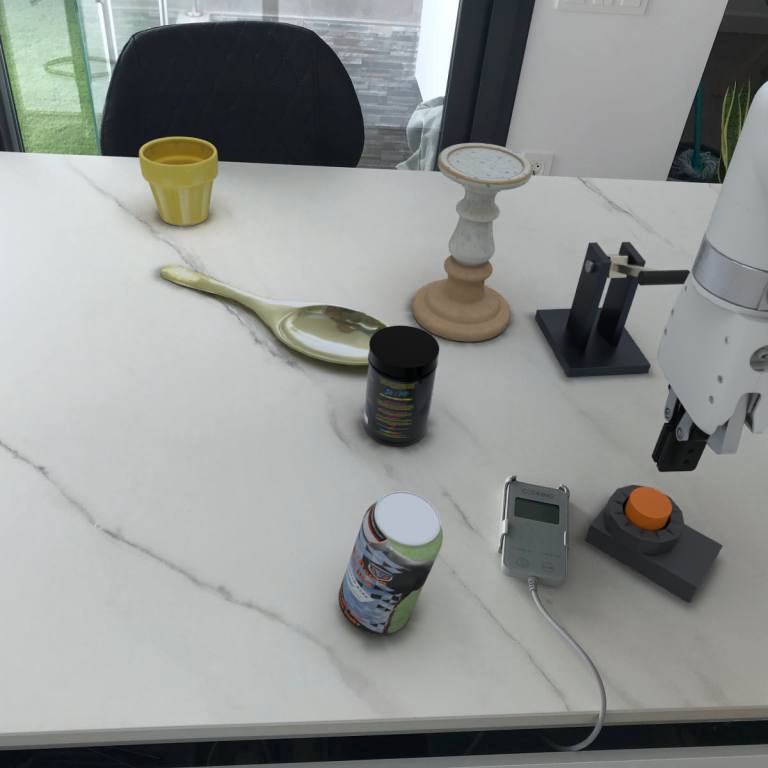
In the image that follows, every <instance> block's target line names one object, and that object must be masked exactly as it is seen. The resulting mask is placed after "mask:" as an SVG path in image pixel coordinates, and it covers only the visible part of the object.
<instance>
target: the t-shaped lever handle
mask: <svg viewBox="0 0 768 768" xmlns="http://www.w3.org/2000/svg"><path fill="white" fill-rule="evenodd" d="M605 254H606V255H607V257H608V258H609V259H610V261H611V262H612V264H611V267H610V270H609V274H608V277H607V279H611V278H626V277H627V275H630V276H634V277H638V278H637V279H638V283H639V284H638V286H641V287H642V286H673V285H675V286H677V285H684V283H685V281H686V279H687V277H688V275H689V273H690V272H691V270H689V269H664V270H663V269H662V270H661V269H655V268H650V267H646V266H644V267H641V266H637V265H632V264H628V256H625V255H620V254H618V253H605Z"/></svg>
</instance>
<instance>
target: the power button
mask: <svg viewBox="0 0 768 768" xmlns="http://www.w3.org/2000/svg"><path fill="white" fill-rule="evenodd" d="M649 487H650V486H645V487H640V488H637V489H635V490H633V491H632V493H631V494H630V497H629V499H628V502H627V504H626V507H625V514H626V517H627V518H628V520H629V521H630V522H631V523H632V524H634V525H636V526H637V527H639V528H641V529H643V530H648V531H657V530H660V529H662V528H663V527H664V526H665V524H666V522H667V520H668V518H669V515H670V513H671V511H672V505H671V502H670V500H669V499H668V497H667V496H668V495H667V494H665V493H663V492H662V491H660V490H658V489H656V488H654V487H651V488H649ZM653 488H654V489H653ZM664 494H665V495H664ZM666 495H667V496H666Z"/></svg>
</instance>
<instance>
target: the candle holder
mask: <svg viewBox="0 0 768 768" xmlns="http://www.w3.org/2000/svg"><path fill="white" fill-rule="evenodd" d="M437 166H438V169H439V171H440V173H441V174H442V175H443V176H444V177H446V178H447V179H449V180H451V181H452V182H455V183H457V184H459V185H461V186H462V187H463V188H464V197H463V198H462V199H460V200H459V201H458V202H457V203H456V205H455V211H456V213H457V214H458V217H459V218H458V220H457V224H456V226H455V228H454V230H453V233H452V234H451V236H450V239H449V240H448V243H447V244H448V245H447V247H448V252H449V254H450V255H449V256H447V257H446V258H445V260H444V262H443V269H444V271H445V272H446V273H447V278H444V279H440V280H435V281H432V282H429V283H427V284H426V285H424V286H422V287H421V288H419V290H418V291H417V292H416V293H415V294H414V296H413V298H412V304H411V309H412V314H413V317H414V318H415V320H416V322H418V324H420V326H421V327H422V328H424V329H425V330H427V332H430V333H431V334H434V335H436V336H437V337H441V338H444V339H447V340H451V341H457V342H470V343H471V342H482V341H487V340H490V339H493V338H494V337H497V336H498V335H500V334H502V333H503V332H504V331H505V330H506V329H507V327H508V325H509V323H510V320H511V309H510V305H509V303H508V301H507V300H506V299H505V298H504V296H503V295H501V293H499V292H498V291H496V290H495V289H493V288H491V287H489V286H488V285H486V284H485V281H486V280H487V279H489V278H490V277H491V275H492V274H493V271H494V269H493V265H492V263H491V262H490V260H491V259H492V258H493V256H494V254H495V251H496V245H495V239H494V229H493V228H494V227H493V226H494V225H493V222H494V221H495V220H497V219H498V218H499V216H500V213H501V210H500V208H499V206H498V205H497V204H496V201H495V200H496V197H497V194H498V193H500V192H502V191H508V190H514V189H517V188H520V187H522V186H525V185H526V184H527V183H528V182H529V181H530V180H531V178H532V176H533V173H534V168H533V164H532V162H531V161H530V160H529V159H528V158H527V157H526V156H524V155H523V154H522V153H520V152H518V151H515V150H513V149H511V148H507V147H506V146H501V145H498V144H492V143H483V142H465V143H464V142H463V143H458V144H452V145H450V146H448V147H446V148H444V149H443V150H442V151H440V153H439V155H438V158H437Z"/></svg>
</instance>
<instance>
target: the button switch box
mask: <svg viewBox="0 0 768 768" xmlns="http://www.w3.org/2000/svg"><path fill="white" fill-rule="evenodd" d="M640 487H646V486H644V485H638V484H630V485H626V486H622V487H618V488H617V489H616V490H614V492H613V493H612V494H611V496H610V497H609V498H608V500H607V503H606V504H605V505H604V507H603V508H602V509H601V511H600V512H599V513H598V514H597V516H596V517H595V518H594V519H593V520H592V522H591V523H590V525H589V527H588V529H587V533H586V535H585V537H584V541H586V542H587V543H589V544H590V545H592V546H594V547H595V548H597V549H599V550H600V551H602V552H604V553H605V554H607V555H609V556H611V557H612V558H614V559H615V560H617V561H619V562H620V563H622V564H624V565H625V566H627V567H629V568H630V569H632V570H634V571H636V573H639V574H640V575H642V576H643V577H645V578H647V579H649V580H650V581H652V582H654V583H655V584H657V585H659V586H660V587H662V588H664V589H665V590H667V591H669V592H670V593H672V594H673V595H674V596H677V597H679V598H680V599H682V600H683V601H685V602H687V603H691V601H692V599H693V598H694V596H695V594H696V593H697V592H698V589H699V588H700V586H701V584H702V583H703V581H704V580H705V578H706V576H707V574H708V572H709V571H710V570H711V568H712V566H713V564H714V563H715V562H716V559H717V557H718V555H719V554H720V552H721V550H722V548H723V544H721V543H720V542H718V541H716V540H714V539H712V538H710V537H709V536H707V535H705V534H703V533H701V532H700V531H698V530H696V529H694V528H692V527H691V526H689V525H687V524H686V523H685V518H684V512H683V511H682V509H681V508H680V507H679V506H678V505H677V504H676V502H675V501H674V500H673V499H672V498H671V497H670V496H669V495H667V494H665V493H663V494H664V495H666V496H667V497H668V499H669V500H670V502H671V505H672V511H671V513H670V515H669V518H668V520H667V522H666V524H665V526H664V527H663V528H662V529H660V530H657V531H648V530H643V529H641V528H639V527H637V526H636V525H634V524H632V523H631V522H630V521H629V520H628V518H627V517H626V514H625V507H626V504H627V502H628V499H629V497H630V494H631V493H632V491H633V490H635V489H637V488H640ZM648 487H649V488H653V489H655V488H654V487H651V486H648Z"/></svg>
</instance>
